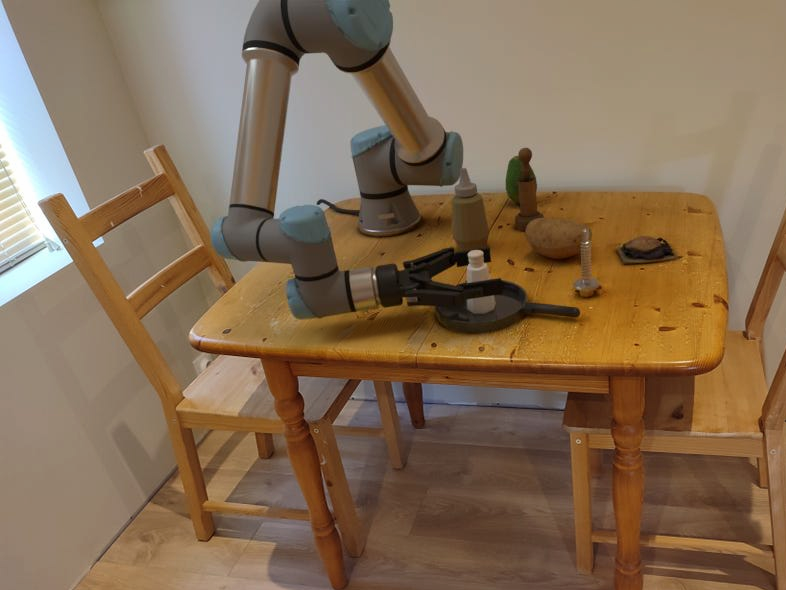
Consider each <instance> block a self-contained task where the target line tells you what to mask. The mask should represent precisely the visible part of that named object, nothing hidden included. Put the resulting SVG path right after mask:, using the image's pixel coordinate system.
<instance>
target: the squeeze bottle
mask: <svg viewBox="0 0 786 590" xmlns="http://www.w3.org/2000/svg"><path fill="white" fill-rule="evenodd" d="M458 181H459V183H458V184H456V185H455V186H454V194H455V195H454V196H453V197H452V199H451V224H452V225H451V227H452V239H453V240H454V242H455V244H456V247H457V248H458V251H459V252H461V251H467V250H474V249H481V248H487V245H488V242H489V241H488V240H489V237H490V236H489V235H490V229H489V224H488V218H487V215H486V209H485V205H484V199H483V196H482V195H481V194H480V193H479V192H478V187H477V184H476V183H474V182H472V181H471V179H470V175H469V172H468V169H467V168H466V167H462V168H461V170H460V177H459V180H458Z"/></svg>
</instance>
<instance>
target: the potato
mask: <svg viewBox="0 0 786 590" xmlns="http://www.w3.org/2000/svg"><path fill="white" fill-rule="evenodd" d="M585 228H586V229H589V240H590V242H591V241H592V237H593V232H592V229H591V228H590V227H589V226H587V224H584V223H582V222H579V221H573V220H569V219H568V220H567V219H562V218H550V217H549V218H548V217H543V218H538V219H534V220H532V221H530V222H529V224H528V225H527V227H526V231H524V236H525V240H526V242H527V244H528V245H529V246H530V248H532V251H534V252H536V254H537V253H538V254H539V255H540V256H543V257H546V258H548V259H552V260H563V259H567V258H571V257H574V256H577V255H578V254H580V253H581V245H582V244H581V242H582V230H583V229H585Z"/></svg>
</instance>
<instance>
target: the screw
mask: <svg viewBox="0 0 786 590" xmlns="http://www.w3.org/2000/svg"><path fill="white" fill-rule="evenodd" d="M591 243H592V242H591V241H590V240H589V229H586V228H585V229H583V230H582V242H581V244H582V245H581V252H580V253H581V254H580V256H581V257H580V259H581V260H580V262H581V263H580V265H581V266H580V271H581V272H580V276H581V277H579V278H577V279H575V281H574V282H572V288H573V289H575V290H576V291H579V296H580V297H584V298H588V297H591V296H594V291H596V290H598V288H599V287H600V281H599V279H597V278H594V277H592V252H591V251H592V246H591V245H592V244H591Z"/></svg>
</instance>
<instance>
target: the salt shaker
mask: <svg viewBox="0 0 786 590" xmlns="http://www.w3.org/2000/svg"><path fill="white" fill-rule="evenodd" d="M468 258H469V264H468V266H466V282H467V283H471V282H477V281H484V280H490V279H491V276H490V271H489V267H488V266H489V265H488V263H484V261H483V260H484V257H483V252H482V251H481V250H473V251H470V252H469V253H468ZM495 305H496V303H495V298H494V295H493V296H487V297H480V298H474V299H467V310H468V311H470V312H471V313H473V314H486V313H488V312H490V311H493V310H494V308H495Z"/></svg>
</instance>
